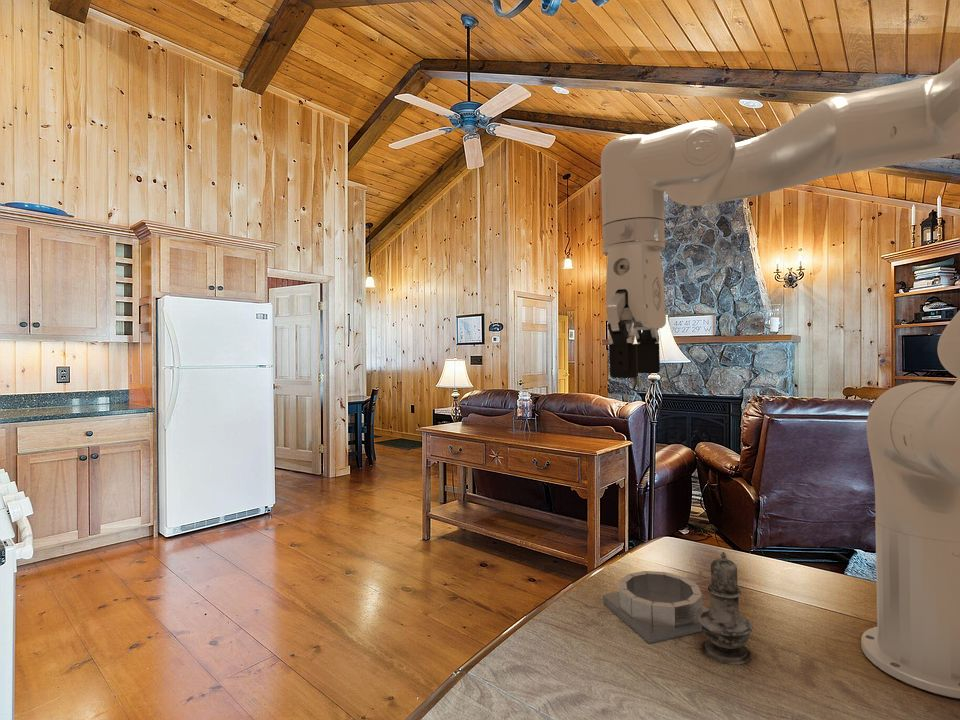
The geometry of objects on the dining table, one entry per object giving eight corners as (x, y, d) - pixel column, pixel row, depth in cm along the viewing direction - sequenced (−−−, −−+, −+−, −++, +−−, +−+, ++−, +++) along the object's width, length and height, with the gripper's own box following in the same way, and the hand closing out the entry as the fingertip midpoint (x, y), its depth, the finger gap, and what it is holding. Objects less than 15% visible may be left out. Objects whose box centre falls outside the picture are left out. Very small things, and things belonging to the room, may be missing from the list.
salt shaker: (760, 668, 59) (758, 563, 59) (705, 663, 61) (702, 560, 60) (745, 639, 65) (742, 543, 65) (694, 636, 66) (692, 541, 66)
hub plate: (668, 590, 79) (667, 565, 79) (722, 626, 68) (721, 598, 68) (603, 603, 75) (602, 577, 75) (649, 643, 65) (648, 613, 65)
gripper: (643, 222, 57) (646, 380, 57) (680, 245, 71) (682, 371, 72) (578, 232, 61) (582, 379, 62) (625, 252, 76) (628, 371, 76)
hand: (636, 375), depth 67 cm, fingers open, 9 cm apart
